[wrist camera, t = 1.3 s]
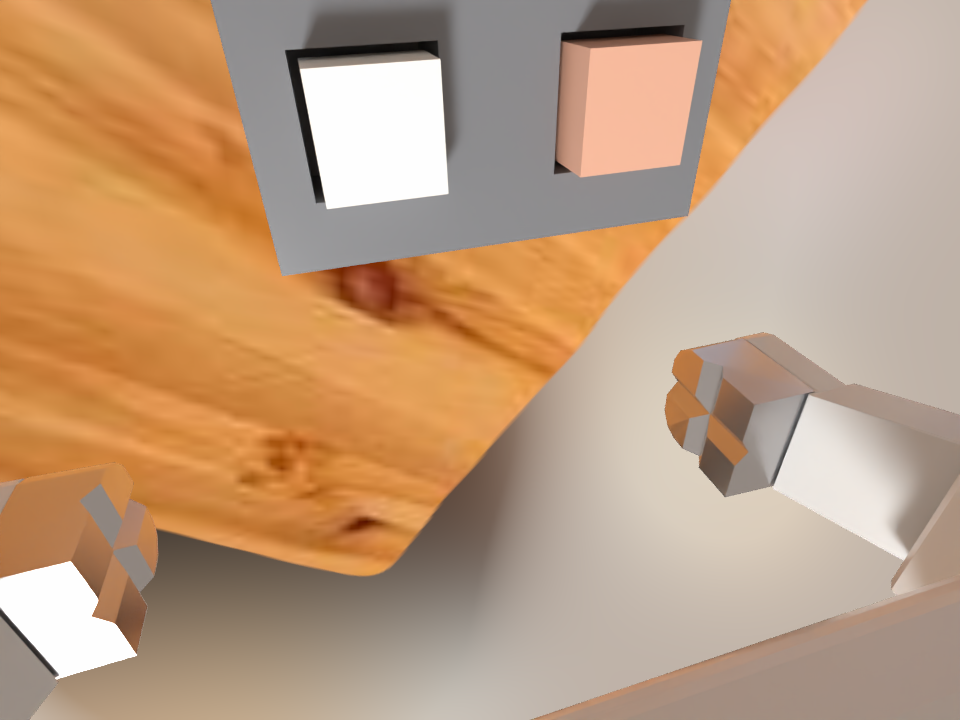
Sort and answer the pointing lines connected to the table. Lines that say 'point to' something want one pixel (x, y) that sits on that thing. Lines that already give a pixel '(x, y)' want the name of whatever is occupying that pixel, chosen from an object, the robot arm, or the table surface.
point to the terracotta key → (624, 102)
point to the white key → (377, 126)
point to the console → (453, 120)
